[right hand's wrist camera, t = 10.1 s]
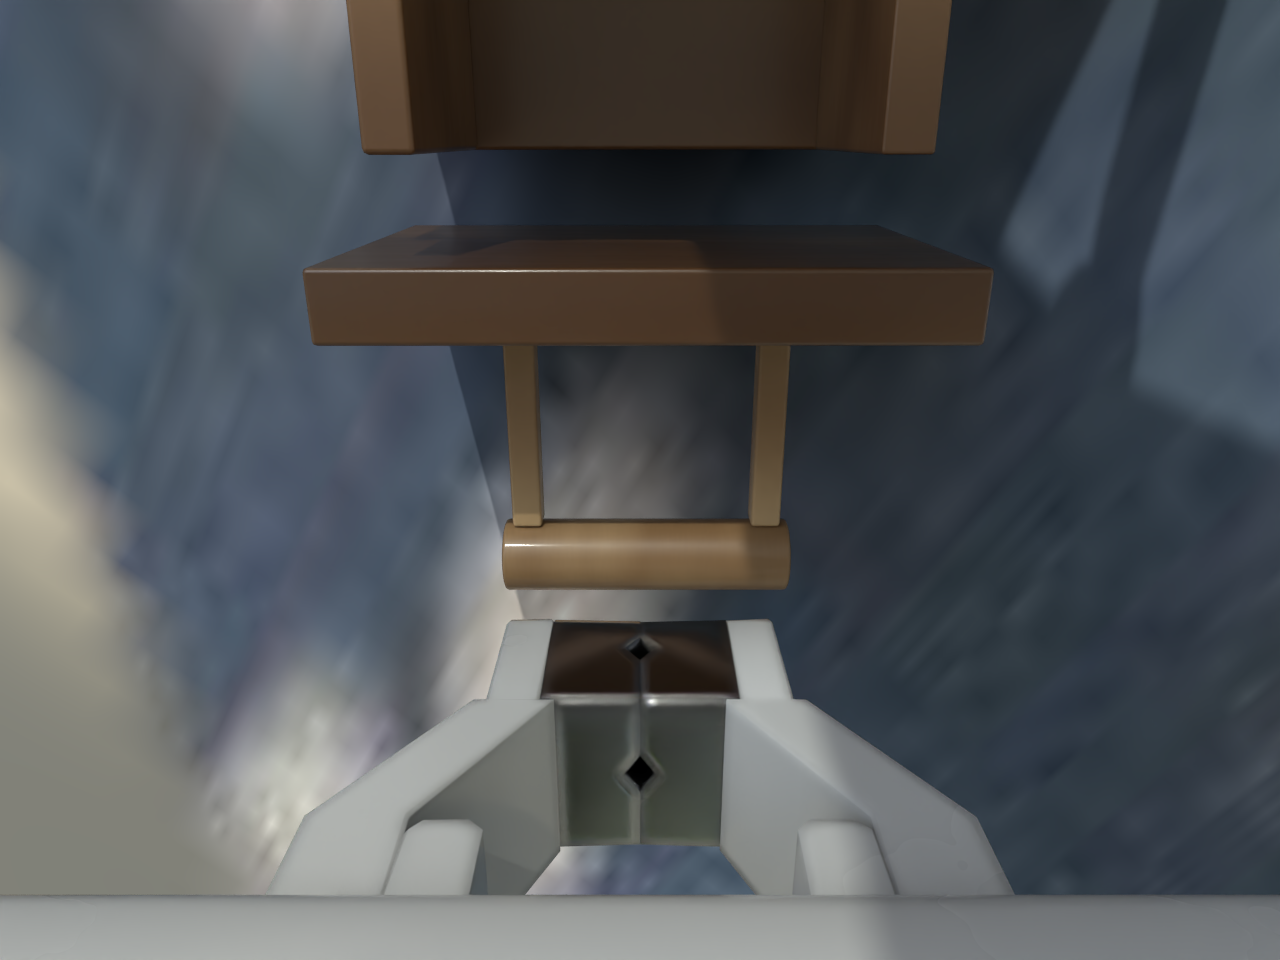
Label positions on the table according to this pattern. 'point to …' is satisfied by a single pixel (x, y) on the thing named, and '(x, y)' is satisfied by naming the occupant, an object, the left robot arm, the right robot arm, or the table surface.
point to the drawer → (648, 227)
